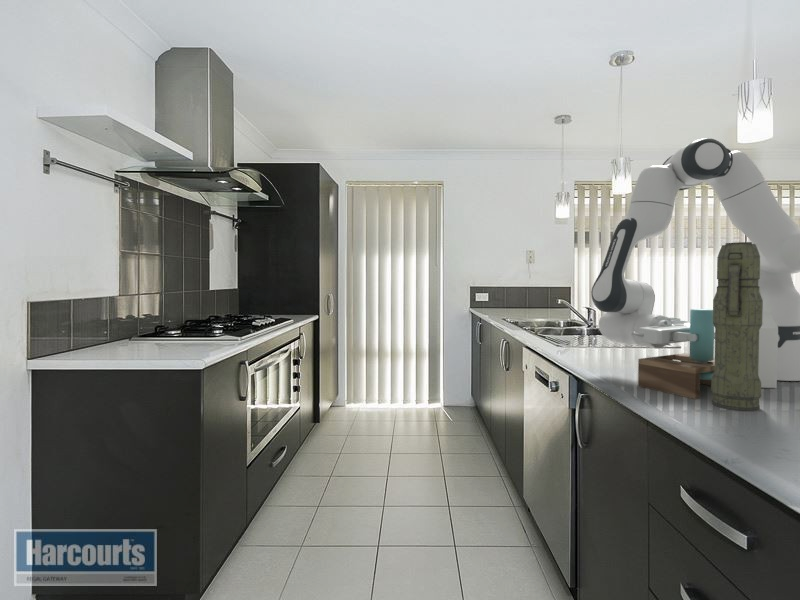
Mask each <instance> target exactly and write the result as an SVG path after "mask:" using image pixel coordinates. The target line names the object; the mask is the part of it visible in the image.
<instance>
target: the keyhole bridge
mask: <svg viewBox="0 0 800 600" xmlns="http://www.w3.org/2000/svg"><path fill="white" fill-rule="evenodd" d="M637 361H638V364H637V365H638V371H637V372H638V373H637V375H638V376H637V383H638V384H637V386H638V387H640V388H644V387H645V388H644V389H649V390H653V389H654V391H658V392H663V393H666V392H667V394H671V395H675V394H676V396H681V397H684V398H689V399H693V400H696V399H701V396H700V395H701V394H700V393H701V384H703V385H705V386H706V385H707V386H711V380H702V379H700V373H704V372H711V371H714V369H715V356H714V360H712V361H708V364H701V363H695V360H693V359H690V353H685V352H684V353H683V352H681V353H675V354H666V355H659V356H651V357H641V358H638V360H637Z"/></svg>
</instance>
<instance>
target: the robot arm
mask: <svg viewBox="0 0 800 600" xmlns="http://www.w3.org/2000/svg"><path fill="white" fill-rule="evenodd" d="M703 183H706V184H708V186H710V187H711V188H713V190H714V191H715V192H716V195H717V198H718V199H719V202H720V203H721V205H722V207H723V209H724V211H725V213H726V214H727V217H728V218H729V220H730V221H731V224H732V225H733V226H734V227H735V229H737V230H739V231H740V232H741V233H743V235H745V236H746V237H747V241H746V242H752V244H756V246H757V249H758V251H759V254H760V279H758V286H759V287H760V288H759V292H760V295H761V297H762V300H763V311H771V316H772V317H773V319H774V321H775V323H776V325H777V327H778V353H777V381H784V382H785V381H786V382H789V381H790V382H796V381H797V382H798V381H799V382H800V293H799V291H798V290H797V289H796V287H795V284H794V281H793V278H792V275H793V274H797V273H800V226H799V224H798V223H797V222H795V220H794V219H792V217H790V215H789V214H788V213H787V212H786V211H785V210H784V208H782V206H781V205H780V203H779V201H778V200H777V198H776V197H775V195H774V193H773V191H772V189H771V188H770V186H769V184H768V182H767V181H766V178H765V177H764V174H762V172H761V169H759V168H758V166H757V165H756V164H755V162H754V161H753V160H752V158H750V156H748V154H746V152H743V151H740V150H732V151H731V150H730V149H729V148H727V147H726V145H724V143H723V142H721V141H719V140H717V139H714V138H709V137H708V138H700V139H696V140H693V141H691V143H689V144H687V145H685V146H683V147H680V148H679V149H678V150H677V151H676V152H675V153H673V154H672V155H671V156H669V157H668V158H667V159H666V160H665V161H664V162H663V163H662V165H656V164H655V165H651V166H648V167H646V168H644V169H643V170H642V171H641V172H640V173H639V176H638V178H637V180H636V183H635V186H634V188H633V191H632V194H631V198H630V202H629V207H628V210H627V213H626V215H625V217H624V219H622V220H621V221H620V222H619V223H618V225H617V226H616V228H615V230H614V232H613V235H612V237H611V240H610V242H609V245H608V249H607V252H606V254H605V257H604V260H603V263H602V267H601V269H600V272H599V274H598V276H597V278H596V279H595V281H594V282H593V285H592V287H591V291H590V292H591V294H590V295H591V300H592V304H594V306H595V307H596V309H597V310H599V311H601V312H604V314H603V315H601V316H600V318H599V320H598V328H599V332H600V333H601V335H602V336H603V337H604V338H606V340H610V341H611V342H614V343H618V344H624V345H637V346H638V347H639V346H640V347H643V348H644V347H645V348H651V349H652V348H653V349H663V348H664V347H665V346H668V345H670V344H675V343H676V344H678V343H685V342H690V341H693V342H694V341H698V340H699V338H698V337H699V335H698V334H695V333H690V321H689V320H688V321H686V320H681V318H679V317H668V316H665V315H661V314H653V310H654V306H655V301H656V300H655V299H656V295H655V294H656V293H655V291H654V289H653V287H652V286H651V285H650V284H648V283H646V282H644V281H643V282H642V281H639V280H635V279H628V278H625V273H626V270H627V267H628V265H629V264H628V263H629V261H630V257H631V255H632V252H633V249H634V248H635V246H636V245H638V243H640V242H642V241H645V240H648V239H653V238H655V237H658V236H659V235H661V234H662V233H664V232H665V231H666V230H667V228H668V227H669V225H670V223H671V221H672V217H673V212H674V208H675V204H676V203H675V202H676V197H677V194H678V193H679V191H684V190H688V189H690V188H692V187H693V188H694V187H696V186H699V185H701V184H703ZM791 274H792V275H791ZM714 340H715V331H714Z"/></svg>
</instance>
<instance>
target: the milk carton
mask: <svg viewBox="0 0 800 600" xmlns="http://www.w3.org/2000/svg"><path fill="white" fill-rule="evenodd" d="M777 353H778V327H777V325H776V323H775V321H774V319H773V317H772V316H771V311H763V312H762V326H761V328H760V330H759V365H758V376H759V378H760V381H761V389H762V388H765V389H766V388H767V389H777V385H778V383H777V382H778V380H777Z"/></svg>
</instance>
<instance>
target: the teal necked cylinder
mask: <svg viewBox="0 0 800 600" xmlns="http://www.w3.org/2000/svg"><path fill="white" fill-rule="evenodd" d="M689 322H690V333H695V334H698V335H699V337H698V338H699V340H698V341H694V342H693V341H689V354H690V359H693V360H695V363H701V364H708V361H712V360H714V357H715V339H714V332H715V327H714V324H713V309H708V308H706V309H705V308H693V309H692V308H690V309H689ZM713 373H714V371H711V372H704V373H700V379H702V380H711V378H712V376H713Z"/></svg>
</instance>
